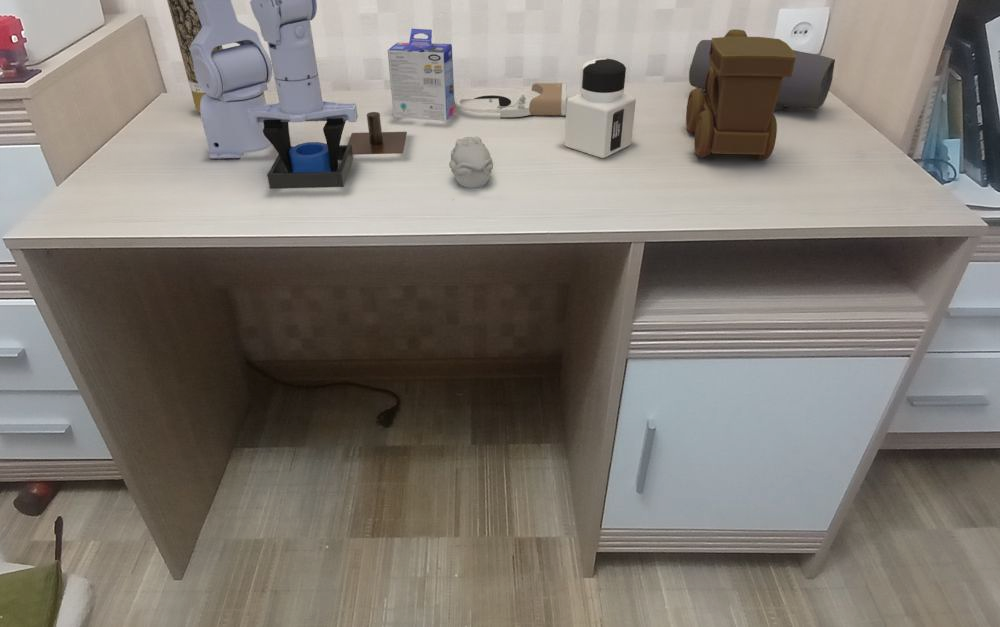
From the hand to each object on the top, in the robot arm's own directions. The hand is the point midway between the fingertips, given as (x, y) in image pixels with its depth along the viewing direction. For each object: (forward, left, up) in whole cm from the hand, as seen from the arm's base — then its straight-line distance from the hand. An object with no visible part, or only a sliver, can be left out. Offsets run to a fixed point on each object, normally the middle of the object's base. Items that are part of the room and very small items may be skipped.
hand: (313, 169), depth 102 cm
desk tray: (0, 0, -1) cm, 1 cm away
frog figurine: (+23, -4, -2) cm, 23 cm away
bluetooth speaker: (+74, +28, -2) cm, 79 cm away
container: (+43, +10, -2) cm, 44 cm away
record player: (+30, +29, -2) cm, 42 cm away
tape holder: (+8, +11, -1) cm, 14 cm away
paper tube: (-23, +31, -2) cm, 38 cm away
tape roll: (0, 0, -1) cm, 1 cm away
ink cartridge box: (+15, +24, -2) cm, 28 cm away
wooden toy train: (+63, +9, -2) cm, 64 cm away
